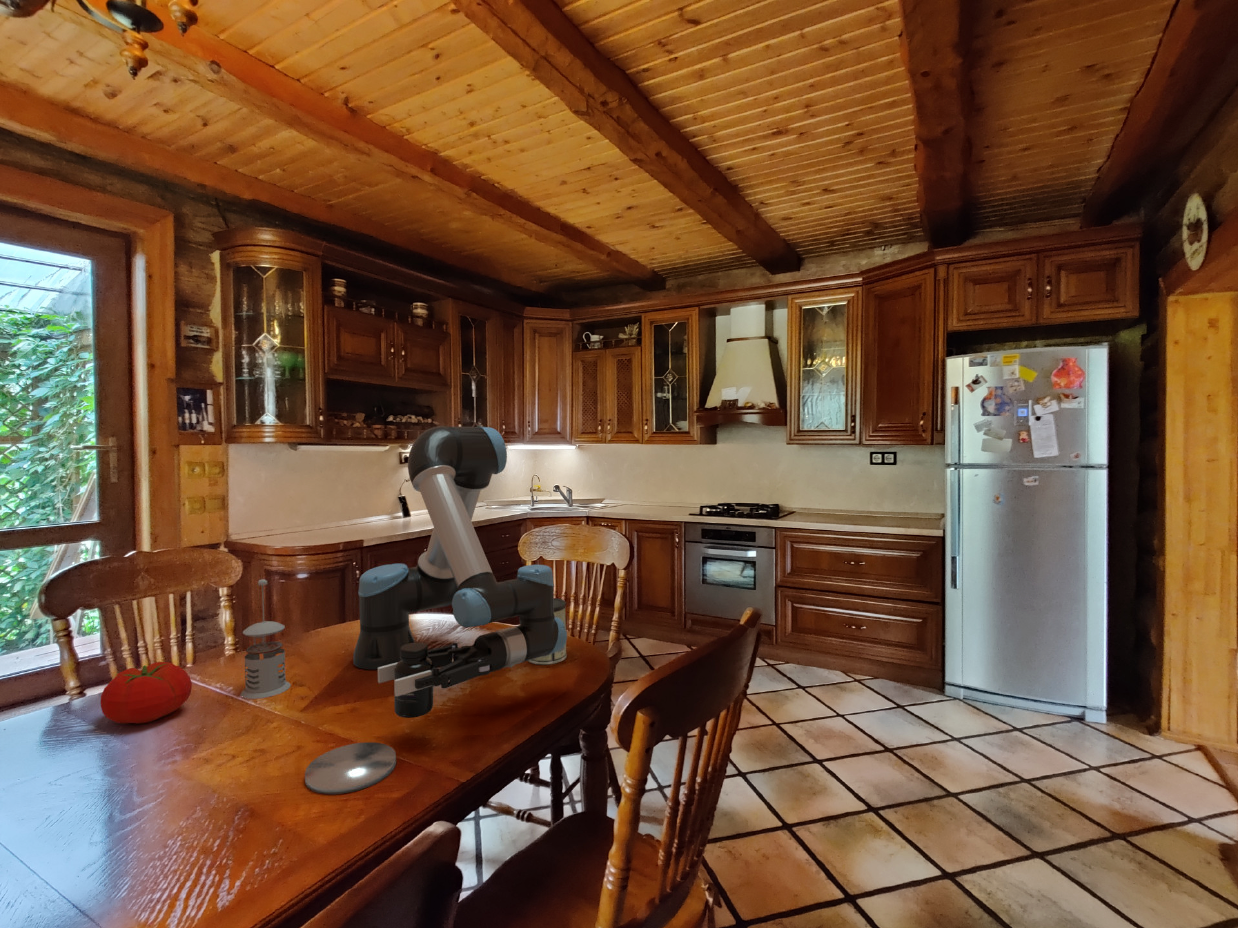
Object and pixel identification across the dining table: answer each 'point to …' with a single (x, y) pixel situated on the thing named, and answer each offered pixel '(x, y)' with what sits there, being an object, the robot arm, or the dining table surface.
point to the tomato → (145, 693)
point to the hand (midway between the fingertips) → (386, 681)
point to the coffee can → (561, 654)
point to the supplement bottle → (409, 665)
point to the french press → (264, 660)
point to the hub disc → (350, 768)
